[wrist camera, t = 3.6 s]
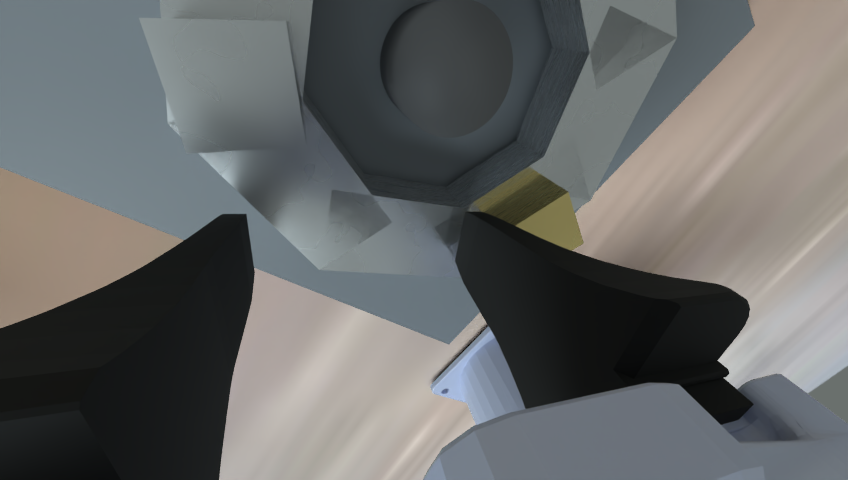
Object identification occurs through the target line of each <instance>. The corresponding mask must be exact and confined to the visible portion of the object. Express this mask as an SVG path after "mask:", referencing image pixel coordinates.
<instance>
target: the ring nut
mask: <svg viewBox="0 0 848 480" xmlns="http://www.w3.org/2000/svg"><path fill="white" fill-rule="evenodd" d="M540 4H541V8H542V12H543V16H544V20H545V24H546V28H547V32H548V36H549V40H550V44H551V48H552V49H551V52H550V54H549V57H548V59H547V62H546V64H545V67H544V69H543V72H542V75H541V77H540V80H539V82H538V85H537V87H536V90H535V92H534V95H533V97H532V100H531V103H530V105H529V108H528V110H527V113H526V115H525V118H524V120H523V123H522V126H521V128H520V131H519V133H518V136H517V138H516V141H514V142H513V143H511V144H510V145H508V146H507V147H505V148H504V149H502V150H501V151H499V152H497V153H496V154H494V155H493V156H491V157H490V158H488V159H487V160H485V161H484V162H482V163H481V164H479V165H477V166H476V167H474V168H473V169H471V170H470V171H468V172H467V173H465V174H464V175H462V176H461V177H459V178H457V179H456V180H454V181H453V182H451V183H450V184H448V185H447V186H439V185H433V184H427V183H421V182H415V181H409V180H403V179H397V178H391V177H385V176H378V175H372V174H366V173H363V172H362V170H361V169H360V168H359V166H358V165H357V163H356V162H355V161H354V159H353V158H352V157H351V155H350V154H349V152H348V151H347V150H346V148H345V147H344V146H343V144H342V143H341V141H340V140H339V139H338V137H337V136H336V134H335V133H334V132H333V130H332V129H331V128H330V126H329V125H328V123H327V122H326V121H325V119H324V118H323V117H322V115H321V114H320V112H319V111H318V110H317V108H316V107H315V105H314V104H313V103H312V101H311V100H310V99H309V97H308V96H307V94H306V93H305V92H304V81H305V72H306V62H307V53H308V43H309V34H310V24H311V15H312V5H313V0H160V13H161V18H139V20H140V23H141V26H142V28H143V31H144V34H145V37H146V40H147V43H148V46H149V48H150V51H151V54H152V57H153V60H154V63H155V65H156V68H157V71H158V74H159V77H160V80H161V82H162V85H163V88H164V91H165V94H166V105H167V121H168V125H169V126H170V127H171V128H172V129H173V130H175V131H176V132H177V133H178V134H179V135H180V136H181V139H182V142H183V145H184V148H185V151H186V154H194V153H198V154H199V155H200V156H201V157H203V158H204V159H205V160H206V161H207V162H208V163H209V164H210V165H211V166H212V167H213V168H214V169H215V170H216V171H217V172H218V173H219V174H220V175H221V176H222V177H223V178H224V179H225V180H226V181H227V182H228V183H229V184H231V185H232V186H233V187H234V188H235V189H236V190H237V191H238V192H239V193H240V194H241V195H242V196H243V197H244V198H245V199H246V200H247V201H248V202H249V203H250V204H251V205H252V206H253V207H254V208H255V209H256V210H257V211H259V212H260V213H261V214H262V215H263V216H264V217H265V218H266V219H267V220H268V221H269V222H270V223H271V224H272V225H273V226H274V227H275V228H276V229H277V230H278V231H279V232H280V233H281V234H282V235H283V236H284V237H285V238H287V239H288V240H289V241H290V242H291V243H292V244H293V245H294V246H295V247H296V248H297V249H298V250H299V251H300V252H301V253H302V254H303V255H304V256H305V257H306V258H307V259H308V260H309V261H310V262H311V263H312V264H313V265H315V266H316V267H317V268H318V269H319V270H327V271H345V272H363V273H381V274H399V275H417V276H435V277H453V278H461V276H460V273H459V271H458V268H457V265H456V263H455V258H456V253H457V248H458V243H459V239H460V234H461V229H462V225H463V220H464V215H465V212H484V213H488V214H490V215H493V216H495V217H497V218H500V219H502V220H504V221H506V222H508V223H510V224H512V225H514V226H516V227H519V228H521V229H523V230H525V231H527V232H529V233H531V234H533V235H535V236H538V237H540V238H542V239H544V240H546V241H549V242H551V243H554V244H556V245H558V246H561V247H563V248H566V249H568V250H571V251H572V250H574V249H575V248H577V247H578V246H580V245H581V244H583V240H582V236H581V233H580V229H579V226H578V223H577V219H576V216H575V212H574V210H576V209H578V208H579V207H581V206H582V205H584V204H586V203H587V202H589V201H590V200H591V198H592V197H593V195H594V193H595V191H596V189H597V187H598V185H599V183H600V182H601V180H602V178H603V176H604V174H605V172H606V170H607V168H608V167H609V165H610V163H611V161H612V159H613V157H614V155H615V153H616V151H617V150H618V148H619V146H620V144H621V142H622V140H623V138H624V136H625V135H626V133H627V131H628V129H629V127H630V125H631V123H632V121H633V120H634V118H635V116H636V114H637V112H638V110H639V108H640V106H641V104H642V103H643V101H644V99H645V97H646V95H647V93H648V91H649V89H650V88H651V86H652V84H653V82H654V80H655V78H656V76H657V74H658V73H659V71H660V69H661V67H662V65H663V63H664V61H665V59H666V57H667V56H668V54H669V52H670V50H671V48H672V46H673V44H674V42H675V41H676V39H677V25H676V0H540Z"/></svg>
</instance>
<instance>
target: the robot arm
mask: <svg viewBox="0 0 848 480" xmlns="http://www.w3.org/2000/svg"><path fill="white" fill-rule="evenodd" d="M455 263H456V265H457V268H458V271H459V273H460V276H461V278H462V281H463V283H464V285H465V287H466V289H467V290H468V292H469V294H470V295H471V297H472V299H473V301H474V302H475V304H476V306H477V307H478V309H479V311H480V312H481V314H482V316H483V317H484V319H485V321H486V323H487V324H488V327H487V328H486V329H485V330H484V331H483V332H482V333H481V334H480V335H479V336H478V337H477V338H476V339H475V340H474V341H473V342H472V343H471V344H470V345H469V346H468V347H467V348H466V349H465V350H464V351H463V352H462V353H461V355H460V356H459V357H458V358H457V359H456V360H455V361H454V362H453V363H452V364H451V365H450V366H449V367H448V368H447V369H446V370H445V371H444V372H443V373H442V374H441V375H440V376H439V377H438V378H437V379H436V380H435V381H434V382H433V383H432V384H431V390H432V392H433V393H434V394H437V395H440V396H444V397H448V398H451V399H455V400H458V401H462V402H466V403H467V405H468V407H469V409H470V412H471V414H472V416H473V419H474V421H475V423H476V425H475V426H473V427H471V428H470V429H469V430H467V431H466V432H464V433H463V434H462V435H460V436H459V437H457V438H456V439H455V440H453V441H452V442H450V443H449V444H448V445H446V446H445V447H443V448H442V450H441V451H440V453H439V454H438V456H437V457H436V459H435V460H434V462H433V463H432V465H431V466H430V468H429V469H428V471H427V473H426V475H425V477H424V479H423V480H848V423H847V422H845V421H844V420H842V419H841V418H840V417H838V416H837V415H836V414H834V413H833V412H832V411H830V410H829V409H828V408H826V407H825V406H824V405H822V404H821V403H819V402H818V401H817V400H815V399H814V398H813V397H811V396H810V395H809V394H807V393H806V392H805V391H803V390H802V389H801V388H799V387H798V386H796V385H795V384H794V383H792V382H791V381H790V380H788V379H787V378H786V377H784V376H783V375H782V374H773V375H769V376H765V377H761V378H757V379H753V380H750V381H748V382H746V383H745V384H743V385H742V386H741V387H740V388H738V389H736V388H735V387H733V386H732V385H731V384H730V383H729V382H727V381H726V380H725V379H724V378H723V377H726V376H727V375H728V374H729V371H728V369H727V368H726V367H724V366H723V365H722V364H721V363H720V362H718V361H717V360H718V359H719V358H720V357H721V355H722V354H723V353H724V352H725V350H726V349H727V348H728V347H729V345H730V344H731V343H732V342H733V340H734V339H735V338H736V337H737V336H738V334H739V333H740V331H741V330H742V329H743V327H744V326H745V324H746V321H747V319H748V317H749V311H750V308H749V304H748V301H747V300H746V299H745V298H743V297H742V296H740V295H739V294H737V293H736V292H734V291H733V290H731V289H729V288H727V287H725V286H722V285H719V284H714V283H707V282H700V281H693V280H686V279H680V278H673V277H667V276H662V275H657V274H652V273H647V272H643V271H638V270H634V269H630V268H626V267H622V266H618V265H615V264H611V263H607V262H604V261H600V260H597V259H594V258H591V257H588V256H585V255H582V254H579V253H576V252H574V251H571V250H568V249H566V248H563V247H561V246H558V245H556V244H554V243H551V242H549V241H546V240H544V239H542V238H540V237H538V236H535V235H533V234H531V233H529V232H527V231H525V230H523V229H521V228H519V227H516V226H514V225H512V224H510V223H508V222H506V221H504V220H502V219H500V218H497V217H495V216H493V215H490V214H488V213H484V212H465V215H464V220H463V225H462V229H461V234H460V239H459V243H458V248H457V253H456V258H455ZM254 273H255V272H254V264H253V257H252V250H251V243H250V236H249V229H248V221H247V214H222V215H220V216H218V217H217V218H215V219H214V220H212V221H211V222H210V223H208V224H207V225H205V226H204V227H203V228H201V229H200V230H198V231H197V232H196V233H194V234H193V235H191V236H190V237H189V238H187V239H186V240H184V241H183V242H181V243H180V244H178V245H177V246H175V247H174V248H172V249H171V250H169V251H167V252H166V253H164V254H163V255H161V256H159V257H158V258H156V259H155V260H153V261H151V262H150V263H148V264H147V265H145V266H143V267H141V268H140V269H138V270H136V271H134V272H132V273H130V274H129V275H127V276H125V277H123V278H121V279H119V280H117V281H115V282H113V283H111V284H109V285H107V286H105V287H103V288H100V289H98V290H96V291H94V292H91V293H89V294H87V295H84V296H82V297H80V298H77V299H75V300H73V301H70V302H68V303H66V304H63V305H61V306H59V307H56V308H54V309H52V310H49V311H47V312H44V313H41V314H39V315H36V316H34V317H31V318H28V319H25V320H23V321H20V322H17V323H15V324H12V325H9V326H6V327H3V328H0V480H219V473H220V464H221V455H222V447H223V439H224V431H225V424H226V416H227V409H228V402H229V394H230V387H231V381H232V376H233V371H234V367H235V363H236V359H237V355H238V351H239V347H240V344H241V340H242V336H243V332H244V328H245V325H246V321H247V317H248V313H249V309H250V305H251V301H252V293H253V283H254Z"/></svg>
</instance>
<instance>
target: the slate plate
mask: <svg viewBox="0 0 848 480" xmlns="http://www.w3.org/2000/svg"><path fill="white" fill-rule="evenodd" d="M139 18H161V13H160V0H0V167H1V168H3V169H6V170H8V171H11V172H14V173H16V174H19V175H21V176H24V177H26V178H29V179H31V180H34V181H36V182H39V183H41V184H44V185H46V186H49V187H51V188H54V189H57V190H59V191H62V192H64V193H67V194H69V195H72V196H74V197H77V198H79V199H82V200H84V201H87V202H89V203H92V204H95V205H97V206H100V207H102V208H105V209H107V210H110V211H112V212H115V213H117V214H120V215H122V216H125V217H127V218H130V219H133V220H135V221H138V222H140V223H143V224H145V225H148V226H150V227H153V228H155V229H158V230H160V231H163V232H165V233H168V234H171V235H173V236H176V237H178V238H181V239H183V240H186V239H187V238H189V237H190V236H191V235H193V234H194V233H196V232H197V231H198V230H200V229H201V228H203V227H204V226H205V225H207V224H208V223H210V222H211V221H212V220H214V219H215V218H217V217H218V216H220V215H222V214H247V221H248V229H249V236H250V243H251V250H252V257H253V264H254V268H257V269H259V270H262V271H264V272H267V273H269V274H272V275H274V276H277V277H279V278H282V279H285V280H287V281H290V282H292V283H295V284H297V285H300V286H302V287H305V288H307V289H310V290H312V291H315V292H317V293H320V294H323V295H325V296H328V297H330V298H333V299H335V300H338V301H340V302H343V303H345V304H348V305H350V306H353V307H355V308H358V309H360V310H363V311H366V312H368V313H371V314H373V315H376V316H378V317H381V318H383V319H386V320H388V321H391V322H393V323H396V324H398V325H401V326H404V327H406V328H409V329H411V330H414V331H416V332H419V333H421V334H424V335H426V336H429V337H431V338H434V339H436V340H439V341H442V342H444V343H447V344H450V343H451V342H452V341H453V339H454V338H455V337H456V336H457V335H458V334H459V333H460V332H461V331H462V330H463V329H464V328H465V327H466V326H467V325H468V324H469V323H470V322H471V321H472V320H473V319H474V318H475V317H476V316H477V314H478V313H479V312H480V311H479V309H478V307H477V306H476V304H475V302H474V301H473V299H472V297H471V295H470V294H469V292H468V290H467V289H466V287H465V285H464V283H463V281H462V278H453V277H435V276H417V275H399V274H381V273H363V272H345V271H327V270H319V269H318V268H317V267H316V266H315V265H313V264H312V263H311V262H310V261H309V260H308V259H307V258H306V257H305V256H304V255H303V254H302V253H301V252H300V251H299V250H298V249H297V248H296V247H295V246H294V245H293V244H292V243H291V242H290V241H289V240H288V239H287V238H285V237H284V236H283V235H282V234H281V233H280V232H279V231H278V230H277V229H276V228H275V227H274V226H273V225H272V224H271V223H270V222H269V221H268V220H267V219H266V218H265V217H264V216H263V215H262V214H261V213H260V212H259V211H257V210H256V209H255V208H254V207H253V206H252V205H251V204H250V203H249V202H248V201H247V200H246V199H245V198H244V197H243V196H242V195H241V194H240V193H239V192H238V191H237V190H236V189H235V188H234V187H233V186H232V185H231V184H229V183H228V182H227V181H226V180H225V179H224V178H223V177H222V176H221V175H220V174H219V173H218V172H217V171H216V170H215V169H214V168H213V167H212V166H211V165H210V164H209V163H208V162H207V161H206V160H205V159H204V158H203V157H201V156H200V155H199V154H198V153H194V154H186V151H185V148H184V145H183V142H182V139H181V136H180V135H179V134H178V133H177V132H176V131H175V130H173V129H172V128H171V127H170V126H169V125H168V121H167V105H166V94H165V91H164V88H163V85H162V82H161V80H160V77H159V74H158V71H157V68H156V65H155V63H154V60H153V57H152V54H151V51H150V48H149V46H148V43H147V40H146V37H145V34H144V31H143V28H142V26H141V23H140V20H139ZM676 25H677V39H676V41H675V42H674V44H673V46H672V48H671V50H670V52H669V54H668V56H667V57H666V59H665V61H664V63H663V65H662V67H661V69H660V71H659V73H658V74H657V76H656V78H655V80H654V82H653V84H652V86H651V88H650V89H649V91H648V93H647V95H646V97H645V99H644V101H643V103H642V104H641V106H640V108H639V110H638V112H637V114H636V116H635V118H634V120H633V121H632V123H631V125H630V127H629V129H628V131H627V133H626V135H625V136H624V138H623V140H622V142H621V144H620V146H619V148H618V150H617V151H616V153H615V155H614V157H613V159H612V161H611V163H610V165H609V167H608V168H607V170H606V172H605V174H604V176H603V178H602V180H601V182H600V183H599V185H598V187H597V189H596V191H597V190H598V189H599V187H600V186H601V185H602V184H603V183H604V182H605V181H606V180H607V179H608V178H609V177H610V176H611V175H612V174H613V173H614V172H615V171H616V170H617V169H618V168H619V167H620V166H621V165H622V164H623V163H624V161H625V160H626V159H627V158H628V157H629V156H630V155H631V154H632V153H633V152H634V151H635V150H636V149H637V148H638V147H639V146H640V145H641V144H642V143H643V142H644V141H645V140H646V139H647V138H648V136H649V135H650V134H651V133H652V132H653V131H654V130H655V129H656V128H657V127H658V126H659V125H660V124H661V123H662V122H663V121H664V120H665V119H666V118H667V117H668V116H669V115H670V114H671V113H672V111H673V110H674V109H675V108H676V107H677V106H678V105H679V104H680V103H681V102H682V101H683V100H684V99H685V98H686V97H687V96H688V95H689V94H690V93H691V92H692V91H693V90H694V89H695V88H696V87H697V85H698V84H699V83H700V82H701V81H702V80H703V79H704V78H705V77H706V76H707V75H708V74H709V73H710V72H711V71H712V70H713V69H714V68H715V67H716V66H717V65H718V64H719V63H720V62H721V60H722V59H723V58H724V57H725V56H726V55H727V54H728V53H729V52H730V51H731V50H732V49H733V48H734V47H735V46H736V45H737V44H738V43H739V42H740V41H741V40H742V39H743V38H744V37H745V36H746V34H747V33H748V32H749V31H750V30H751V29H752V28H753V27H754V26H755V24H754V21H753V18H752V14H751V11H750V7H749V4H748V1H747V0H676ZM551 49H552V48H551V44H550V40H549V36H548V32H547V28H546V24H545V20H544V16H543V12H542V8H541V4H540V0H313V5H312V15H311V24H310V34H309V43H308V53H307V62H306V72H305V81H304V92H305V93H306V94H307V96H308V97H309V99H310V100H311V101H312V103H313V104H314V105H315V107H316V108H317V110H318V111H319V112H320V114H321V115H322V117H323V118H324V119H325V121H326V122H327V123H328V125H329V126H330V128H331V129H332V130H333V132H334V133H335V134H336V136H337V137H338V139H339V140H340V141H341V143H342V144H343V146H344V147H345V148H346V150H347V151H348V152H349V154H350V155H351V157H352V158H353V159H354V161H355V162H356V163H357V165H358V166H359V168H360V169H361V170H362V172H363V173H366V174H372V175H378V176H385V177H391V178H397V179H403V180H409V181H415V182H421V183H427V184H433V185H439V186H447V185H448V184H450V183H451V182H453V181H454V180H456V179H457V178H459V177H461V176H462V175H464V174H465V173H467V172H468V171H470V170H471V169H473V168H474V167H476V166H477V165H479V164H481V163H482V162H484V161H485V160H487V159H488V158H490V157H491V156H493V155H494V154H496V153H497V152H499V151H501V150H502V149H504V148H505V147H507V146H508V145H510V144H511V143H513V142H514V141H516V138H517V136H518V133H519V131H520V128H521V126H522V123H523V120H524V118H525V115H526V113H527V110H528V108H529V105H530V103H531V100H532V97H533V95H534V92H535V90H536V87H537V85H538V82H539V80H540V77H541V75H542V72H543V69H544V67H545V64H546V62H547V59H548V57H549V54H550V52H551ZM596 191H595V192H596ZM579 208H580V207H579ZM579 208H578V209H579ZM578 209H576V210H574V212H576V211H577V210H578Z"/></svg>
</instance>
